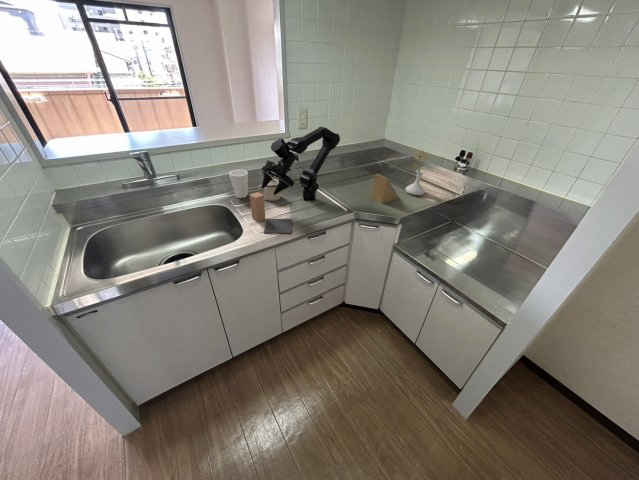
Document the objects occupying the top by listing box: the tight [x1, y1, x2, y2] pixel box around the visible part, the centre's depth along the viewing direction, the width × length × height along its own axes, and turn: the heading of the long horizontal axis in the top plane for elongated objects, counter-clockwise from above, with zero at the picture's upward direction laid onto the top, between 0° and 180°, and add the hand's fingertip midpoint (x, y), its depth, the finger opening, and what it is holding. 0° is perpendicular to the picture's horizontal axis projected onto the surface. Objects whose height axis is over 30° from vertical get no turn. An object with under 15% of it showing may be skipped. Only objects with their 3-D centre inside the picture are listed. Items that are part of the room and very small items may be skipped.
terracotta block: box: [249, 191, 266, 222], centre depth 123 cm, size 4×4×12 cm
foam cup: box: [228, 169, 249, 199], centre depth 142 cm, size 10×9×13 cm
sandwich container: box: [371, 173, 399, 204], centre depth 148 cm, size 9×15×15 cm, turn 128°
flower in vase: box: [405, 149, 429, 196], centre depth 153 cm, size 13×11×25 cm
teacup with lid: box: [257, 177, 281, 202], centre depth 142 cm, size 12×9×12 cm
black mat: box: [263, 218, 293, 235], centre depth 121 cm, size 12×12×1 cm
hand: (268, 191), depth 123 cm, fingers open, 9 cm apart
